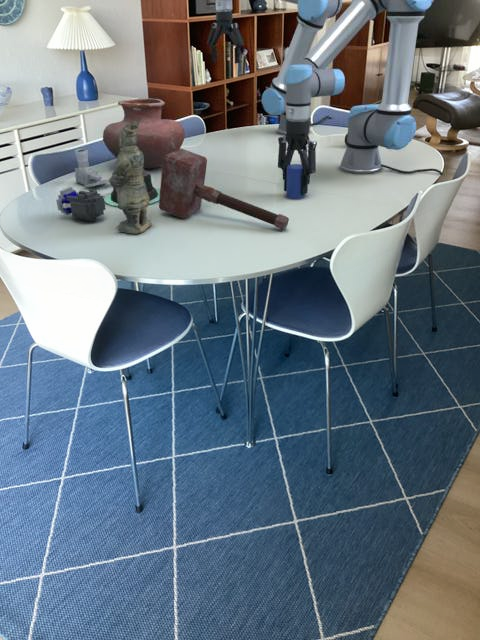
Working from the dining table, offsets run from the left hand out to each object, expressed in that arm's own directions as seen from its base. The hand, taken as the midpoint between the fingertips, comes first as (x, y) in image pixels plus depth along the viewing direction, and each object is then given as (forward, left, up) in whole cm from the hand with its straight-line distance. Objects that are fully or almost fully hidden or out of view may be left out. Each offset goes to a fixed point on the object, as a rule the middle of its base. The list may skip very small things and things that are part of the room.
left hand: (225, 62), depth 261 cm
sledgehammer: (+102, +79, -31) cm, 132 cm away
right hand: (+70, +84, -29) cm, 113 cm away
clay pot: (+72, +16, -31) cm, 80 cm away
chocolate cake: (+101, +39, -31) cm, 113 cm away
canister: (+70, +84, -31) cm, 114 cm away
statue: (+122, +61, -31) cm, 140 cm away
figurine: (-11, +68, -31) cm, 75 cm away
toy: (+125, +41, -31) cm, 135 cm away
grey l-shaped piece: (+100, +16, -31) cm, 106 cm away
